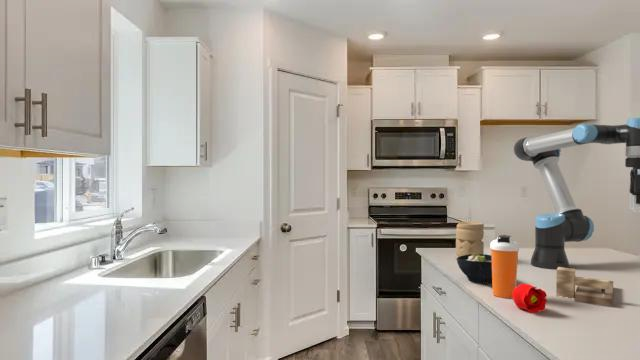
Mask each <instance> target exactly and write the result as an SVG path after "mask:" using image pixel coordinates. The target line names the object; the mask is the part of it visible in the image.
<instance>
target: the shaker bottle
mask: <svg viewBox="0 0 640 360" xmlns="http://www.w3.org/2000/svg"><path fill="white" fill-rule="evenodd" d="M511 236H512V235H506V234H499V235H498V236H497V237H496V239H494V240H493V239H492V241H491V242H490V246H489V247H490V248H489V249H490V255H491V258H492V259H491V261H492V282H491V283H492V285H491V286H492V295H493V296H494V297H497V298H502V299H513V296H512V291H513V290H514V289H515V288H516V287H517V277H518V275H517V274H518V261H519V259H518V258H519V251H520V244H519V243H518V242H517V241H515V240H512V238H511Z"/></svg>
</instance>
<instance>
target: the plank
mask: <svg viewBox="0 0 640 360" xmlns="http://www.w3.org/2000/svg"><path fill="white" fill-rule="evenodd" d="M608 281H609V290H608V289H605V293H602V292H601V288H593V287H586V286H578V285H576V286H577V287H576V288H575V296H574V299H573V300H574V302H575V301H576V302H577V303H581V302H582V303H583V304H589V305H597V306H603V307H608V308H609V307H610V308H612V307H613V303H614V302H613V301H614V281H613V280H608Z"/></svg>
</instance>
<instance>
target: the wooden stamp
mask: <svg viewBox="0 0 640 360" xmlns="http://www.w3.org/2000/svg"><path fill="white" fill-rule="evenodd" d="M609 281H610V280H607V279H597V278H591V277H581V276H576V268H571V267H569V268H563V267H558V268H557V269H556V292H555V293H556V295H555V297H558V296H562V297H561V298H565V297H568V298H567V299H572V298H575V292H576V286H586V287H593V288H601V292H602V293H605V289H608V290H609Z"/></svg>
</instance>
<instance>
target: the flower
mask: <svg viewBox="0 0 640 360" xmlns="http://www.w3.org/2000/svg"><path fill="white" fill-rule="evenodd" d="M512 296H513V298H512V299H513V302H514V304H515V306H516V307H517V308H519V309H522V310H527V311H528V312H529V313H530V314H534V313H536V314H537V313H539V312H541V311H544V310H545V308H546V303H547V302H548V300H547V298H546V297H547V296H548V294H547V293H546V291H544V290H543V289H542V288H537V286H534V285H532V284H528V283H520V284H518V285H516V288H515V289H514V290H513V291H512Z"/></svg>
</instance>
